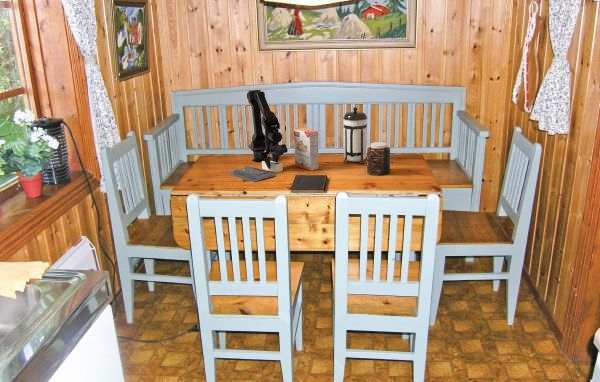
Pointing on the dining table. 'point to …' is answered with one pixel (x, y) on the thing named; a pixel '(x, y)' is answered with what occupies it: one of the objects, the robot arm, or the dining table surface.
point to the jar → (378, 159)
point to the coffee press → (355, 136)
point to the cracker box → (306, 148)
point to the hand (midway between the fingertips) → (272, 167)
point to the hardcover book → (309, 184)
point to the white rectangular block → (273, 166)
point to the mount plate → (251, 174)
